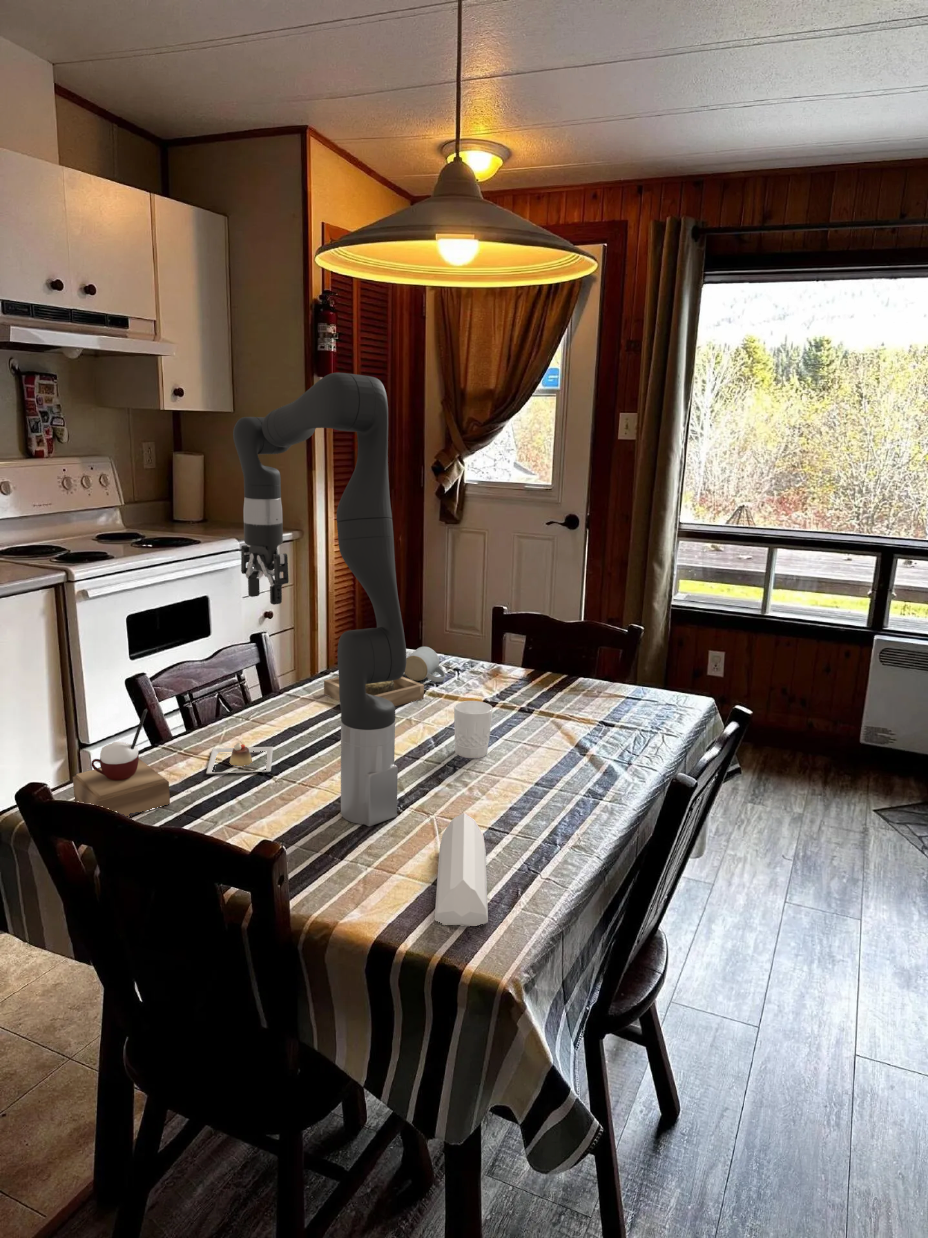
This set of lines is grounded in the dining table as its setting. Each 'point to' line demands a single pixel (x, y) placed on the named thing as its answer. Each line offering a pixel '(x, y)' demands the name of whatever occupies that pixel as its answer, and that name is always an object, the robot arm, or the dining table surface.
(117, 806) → the walnut pedestal
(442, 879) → the crystal
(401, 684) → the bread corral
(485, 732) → the white cup
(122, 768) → the cocoa
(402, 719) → the dining table surface
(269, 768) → the dessert
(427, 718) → the dining table surface
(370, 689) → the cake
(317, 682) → the dining table surface
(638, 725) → the dining table surface
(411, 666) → the ceramic mug
